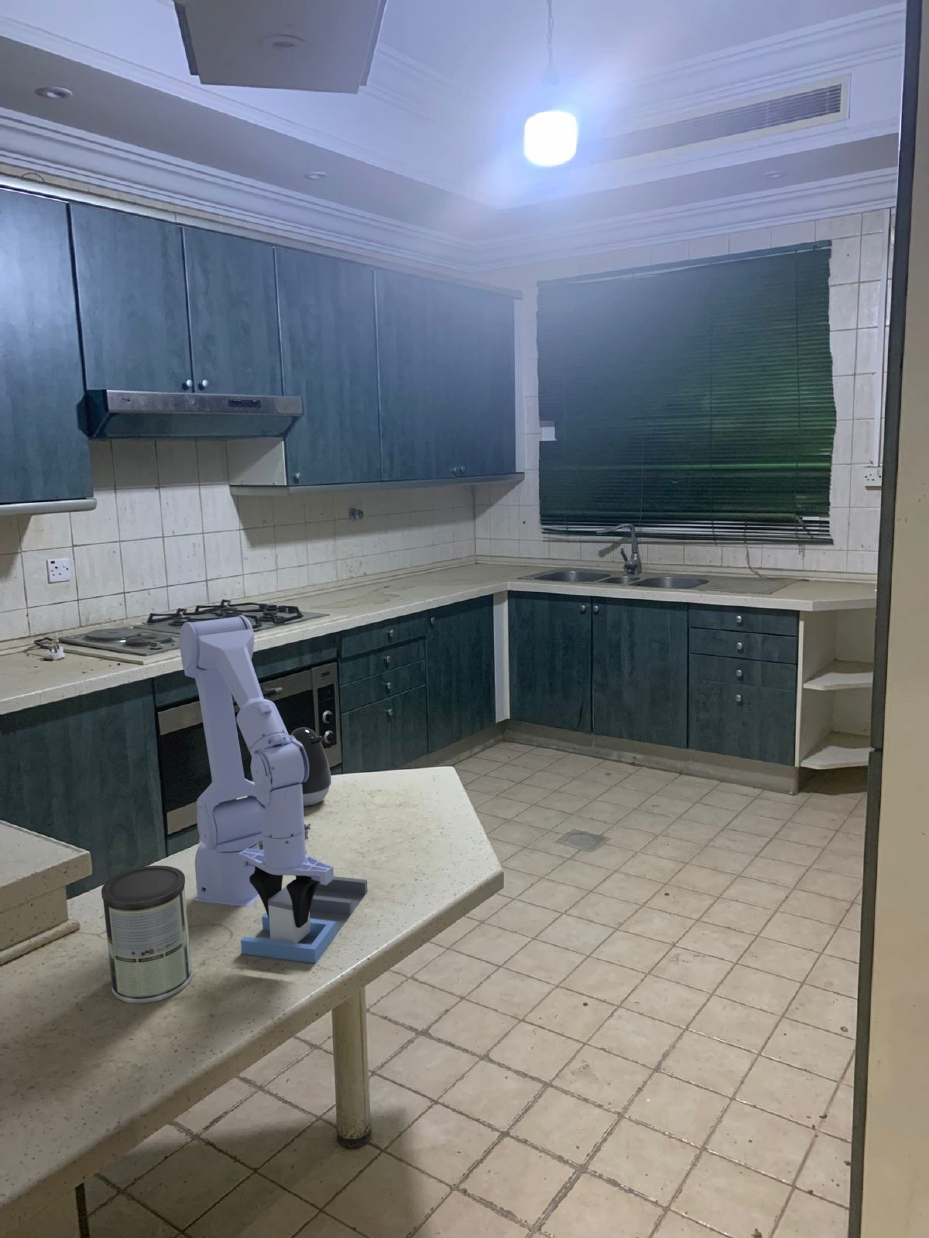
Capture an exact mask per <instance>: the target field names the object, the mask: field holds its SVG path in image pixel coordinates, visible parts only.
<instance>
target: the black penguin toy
mask: <svg viewBox="0 0 929 1238" xmlns="http://www.w3.org/2000/svg"><path fill="white" fill-rule="evenodd" d="M289 735H290V736H291V735H293V736H294V737H295V739H296V740H297V741H299V742H300V743H301V744H302V745H303V747H304V749H305V752H306V754H307V758H308V762H309V776H308V779H307V781H306V782H302V783H300V784H302V793H303V807H310V806H309V805H311V806H314V805H317V804H319V803H320V802H321V801H323V800H324V799H325V798H326V796H327V795H328V792H329V790H330V786H331V785H332V775H331V770H330V766H329V761H328V758H327V754H326V752H325V748H324V747H323V744H322V742H323V741H324V737H323V736H321V735H320V736H318V735H317V733H316V732H315V731H314V730H313V729H310V727H304V726H303V727H299V728H296V729H295V730H293V731H292V732H291V733H290V734H289Z"/></svg>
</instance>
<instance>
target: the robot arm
mask: <svg viewBox="0 0 929 1238" xmlns="http://www.w3.org/2000/svg"><path fill="white" fill-rule="evenodd" d="M178 646H179V652H180V659H181V664H182V669H183V670H184V675H185V676H186V677H189V678H193V679H195V683H196V687H197V691H198V698H199V704H200V710H201V717H202V724H203V731H204V737H205V742H206V750H207V755H208V761H209V762H208V764H209V768H210V776H211V783H210V784H209V786H208V787H207V788H206V789H205V790H204V791H203V792H202V793H201V794H200V796H199V797H197V800H196V801H197V802H196V809H197V816H196V824H197V831H198V835H199V838H200V840H201V842H200V844H199V845H198V847H197V849H196V852H195V857H194V868H195V869H194V871H195V882H196V883H195V884H196V885H195V887H196V896H197V897H196V898H194V900H195V902H196V901H197V902H203V903H212V904H221V905H222V904H224V905H232V906H238V907H251V906H252V905H253V904H254V903H255V902H256V901H257V900H258V899H259V898H260V899H261V902H262V904H263V907H264V910H265V912H266V914H267V915H268V918H269V907H268V899H270V898H271V897H273V896H274V895H275V894H277V893H278V892H279V891H281V890H282V889H283V879H284V876H293V877H295V878H294V879H292V881H290V882H289V883H288V884H286V885H285V886H286V888H287V890H288V892H289V895H290V898H291V901H292V906H293V915H294V921H295V925H296V927H297V928H300V927H302V926H303V925H304V924H305V923H307V922H308V916H309V911H310V906H311V902H312V899H313V896H314V893H315V891H316V889H317V887H318V884H319V883H320V884H323V885H327V884H328V883H330V882H331V881H332V880H333V879H334V876H335V874H334V871H335V870H334V866H333V865H330V864H326V863H324V862H322V861H319V860H318V859H316V858H314V857H312V856H310V855H308V852H307V849H306V839H305V831H304V824H305V815H304V813H305V812H304V806H303V793H302V784H300V783H302V782H306V781H307V779H308V776H309V762H308V758H307V754H306V752H305V749H304V747H303V745H302V744H301V743H300V742H299V741H297V740H296V739H295V737H294V736H293V735H291V734H289V733H288V731H287V728H286V725H285V724H284V721H283V718H282V717H281V715H280V711H279V710H278V708H277V706H276V704H275V703H274V702H273V701H272V700H270V699H265V697H264V694H263V692H262V688H261V685H260V683H259V680H258V677H257V674H256V672H255V667H254V665H253V662H252V658H253V654H254V646H255V633H254V629H253V626H252V624H251V622H250V619H248V618H247V617H246V616H245V615H241V614H240V615H237V616H233V617H224V618H218V619H210V620H209V619H208V620H201V621H195V622H194V621H193V622H191V621H187V622H184V623H183V625H182V626H181V628H180V630H179V637H178ZM233 698H234V700H235V702H236V704H237V707H239V709H240V710H239V711H238V712H237V715H236V716H235V709H234V703H233V702H234V701H233ZM237 725H238V727H239V730H240V732H241V735H242V737H243V739H244V742H245V745H246V746H247V749H248V752H249V753H250V756H251V762H250V772H251V777H252V781H250V780H248V779H247V778H245V773H244V766H243V761H242V754H241V747H240V741H239V737H238V735H239V733H238V729H237ZM290 735H291V736H290ZM232 799H237V800H233V801H229V802H225V803H221V802H224V801H228V800H232ZM218 803H221V804H218ZM262 839H263V850H259V841H262Z"/></svg>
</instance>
